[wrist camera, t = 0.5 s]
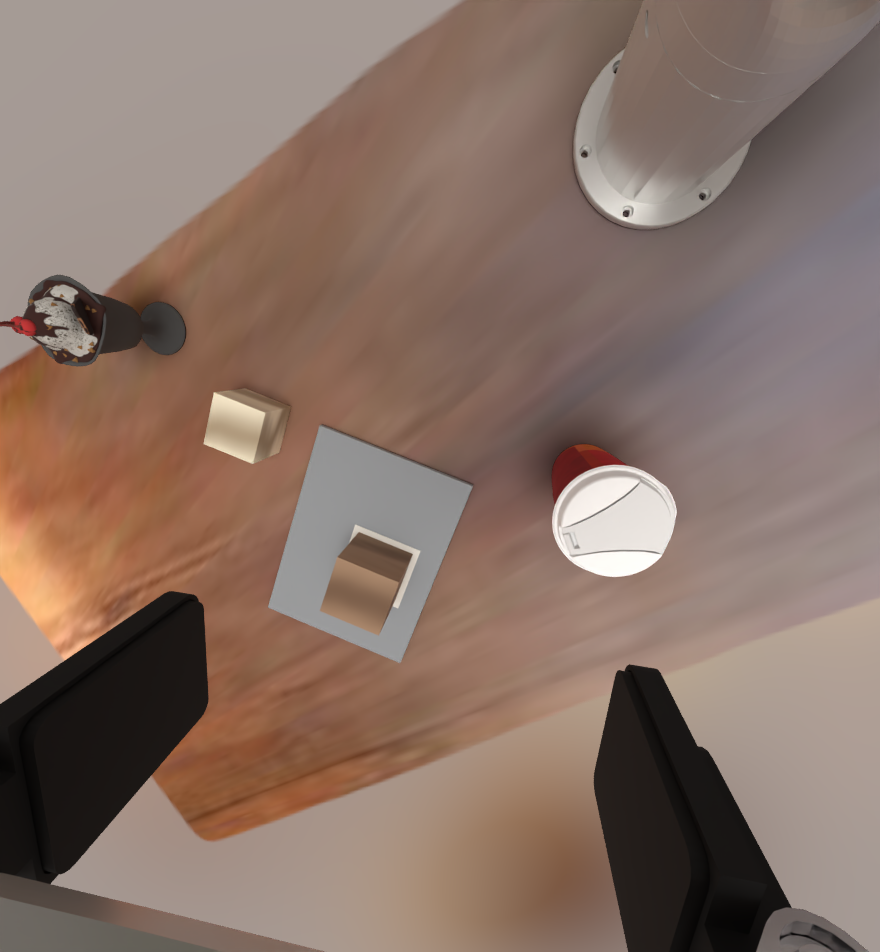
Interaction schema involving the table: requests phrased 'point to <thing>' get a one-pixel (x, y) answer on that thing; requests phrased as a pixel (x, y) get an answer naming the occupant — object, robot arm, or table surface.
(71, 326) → the sundae
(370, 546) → the walnut block
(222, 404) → the birch block
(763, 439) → the table surface
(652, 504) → the paper cup
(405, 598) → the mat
